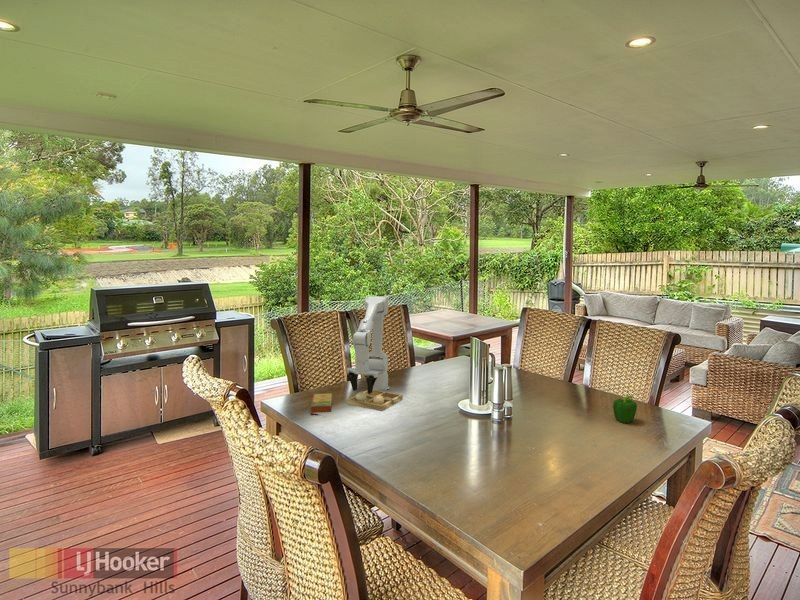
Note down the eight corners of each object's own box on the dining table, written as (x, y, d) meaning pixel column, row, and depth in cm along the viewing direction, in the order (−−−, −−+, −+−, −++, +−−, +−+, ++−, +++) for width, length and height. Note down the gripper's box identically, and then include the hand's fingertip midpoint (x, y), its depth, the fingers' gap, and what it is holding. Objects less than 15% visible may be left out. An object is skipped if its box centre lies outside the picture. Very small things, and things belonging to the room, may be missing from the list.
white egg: (361, 401, 208) (358, 391, 208) (369, 400, 206) (366, 389, 206) (355, 405, 204) (352, 394, 204) (363, 403, 202) (360, 392, 202)
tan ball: (376, 403, 204) (376, 392, 204) (386, 405, 202) (386, 394, 202) (370, 406, 201) (370, 395, 200) (380, 408, 198) (380, 397, 198)
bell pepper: (612, 423, 186) (614, 397, 185) (611, 416, 193) (612, 391, 192) (637, 426, 183) (638, 400, 182) (634, 418, 191) (636, 393, 189)
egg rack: (369, 395, 218) (369, 388, 218) (402, 401, 210) (402, 394, 210) (347, 407, 204) (347, 399, 203) (382, 413, 195) (382, 406, 195)
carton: (332, 402, 211) (332, 392, 210) (331, 415, 195) (331, 405, 194) (313, 403, 210) (313, 393, 209) (310, 416, 194) (310, 405, 193)
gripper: (342, 360, 203) (342, 391, 205) (371, 364, 196) (371, 397, 198) (351, 356, 209) (352, 387, 211) (380, 360, 202) (380, 392, 204)
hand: (362, 391), depth 205 cm, fingers open, 7 cm apart
